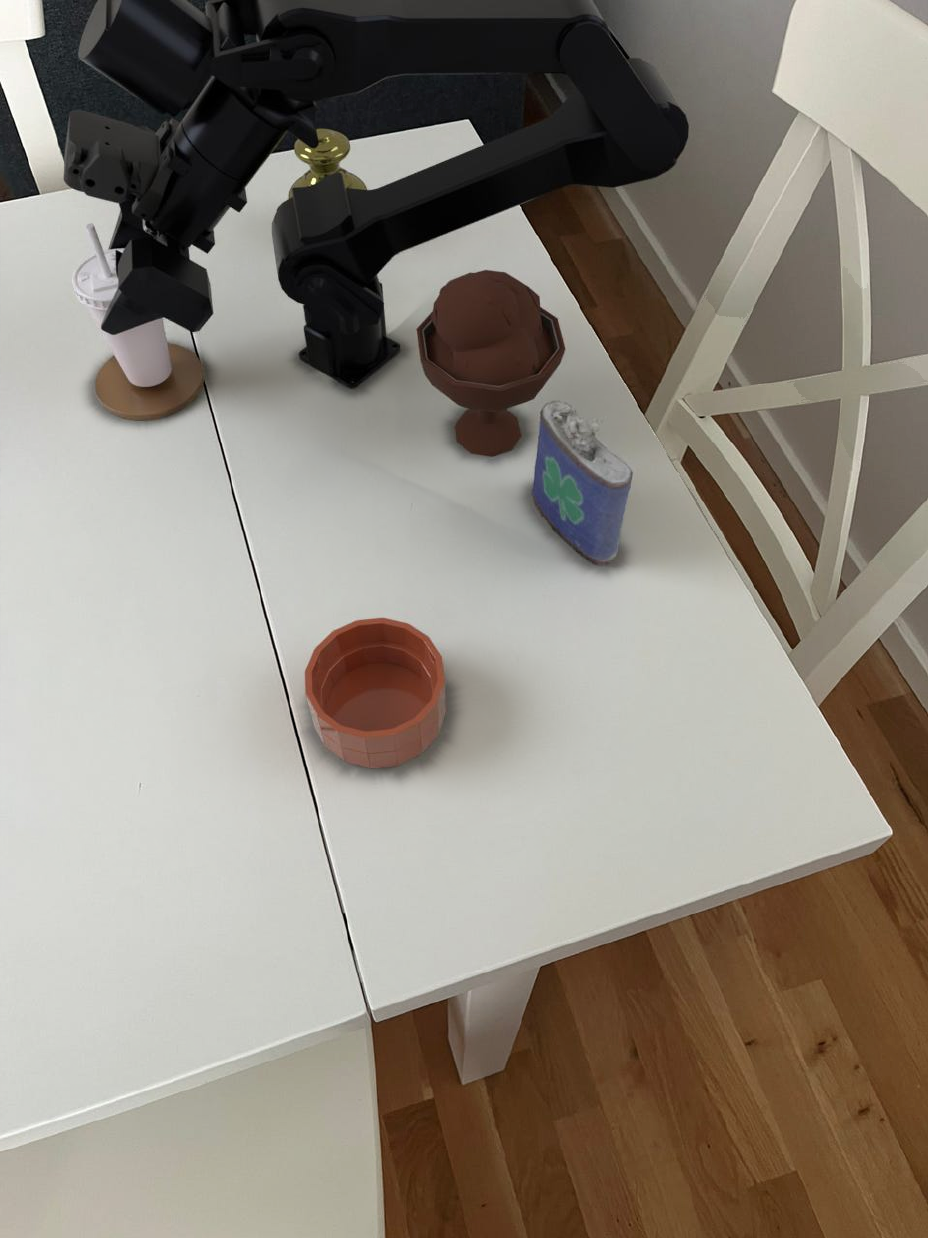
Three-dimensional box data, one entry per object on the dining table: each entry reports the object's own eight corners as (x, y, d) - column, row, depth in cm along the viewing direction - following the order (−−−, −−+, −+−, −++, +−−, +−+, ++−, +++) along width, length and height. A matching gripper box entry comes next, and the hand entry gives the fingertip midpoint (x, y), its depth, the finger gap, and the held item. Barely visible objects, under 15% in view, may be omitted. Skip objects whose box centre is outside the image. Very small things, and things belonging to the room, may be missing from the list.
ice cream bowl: (545, 489, 77) (560, 334, 64) (406, 468, 78) (394, 312, 66) (565, 396, 82) (582, 237, 70) (435, 378, 84) (429, 219, 71)
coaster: (155, 333, 87) (153, 328, 87) (226, 376, 84) (225, 371, 83) (74, 389, 83) (71, 383, 83) (146, 436, 80) (144, 431, 79)
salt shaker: (289, 217, 97) (273, 116, 89) (363, 206, 98) (354, 106, 90) (300, 262, 93) (284, 161, 85) (378, 250, 94) (369, 150, 86)
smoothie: (94, 383, 82) (30, 233, 70) (142, 337, 85) (88, 186, 73) (156, 407, 80) (101, 258, 68) (203, 359, 83) (157, 209, 72)
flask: (623, 557, 73) (644, 455, 64) (591, 574, 72) (608, 473, 63) (551, 479, 77) (561, 373, 68) (520, 494, 76) (526, 389, 68)
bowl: (373, 633, 69) (368, 596, 65) (471, 700, 66) (471, 665, 62) (286, 720, 65) (276, 685, 61) (386, 795, 62) (381, 763, 58)
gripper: (108, 8, 68) (8, 177, 76) (110, 154, 58) (-7, 333, 66) (244, 106, 76) (140, 252, 84) (267, 252, 65) (145, 402, 73)
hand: (106, 303), depth 77 cm, fingers closed on smoothie, 6 cm apart
